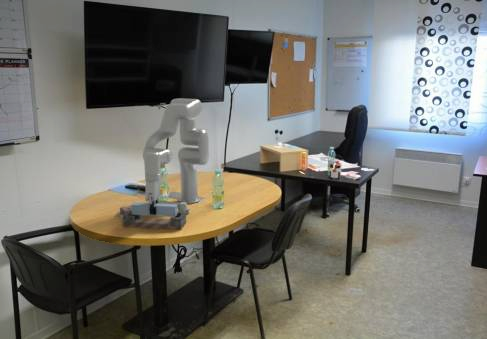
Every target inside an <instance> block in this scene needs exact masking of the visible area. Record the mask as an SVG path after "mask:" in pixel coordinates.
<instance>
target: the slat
mask: <svg viewBox="0 0 487 339" xmlns="http://www.w3.org/2000/svg"><path fill="white" fill-rule="evenodd" d="M153 204H154V203H153ZM130 206H131V211H132V215H144V216H153V217H154V216H157V217H175V216H176V215H177V214H178V213H177V212H178V208H177V204H159V203H155V207H156V215H150V210H149V204H148V202H135V201H134V202H133V203H131V204H130Z"/></svg>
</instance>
